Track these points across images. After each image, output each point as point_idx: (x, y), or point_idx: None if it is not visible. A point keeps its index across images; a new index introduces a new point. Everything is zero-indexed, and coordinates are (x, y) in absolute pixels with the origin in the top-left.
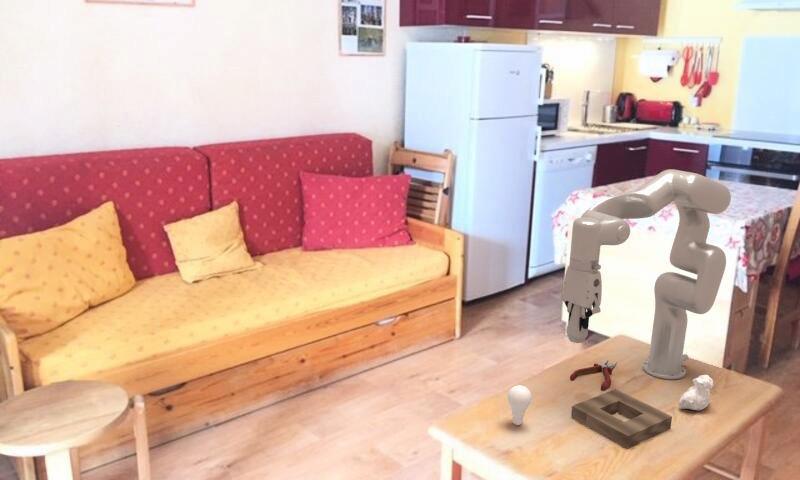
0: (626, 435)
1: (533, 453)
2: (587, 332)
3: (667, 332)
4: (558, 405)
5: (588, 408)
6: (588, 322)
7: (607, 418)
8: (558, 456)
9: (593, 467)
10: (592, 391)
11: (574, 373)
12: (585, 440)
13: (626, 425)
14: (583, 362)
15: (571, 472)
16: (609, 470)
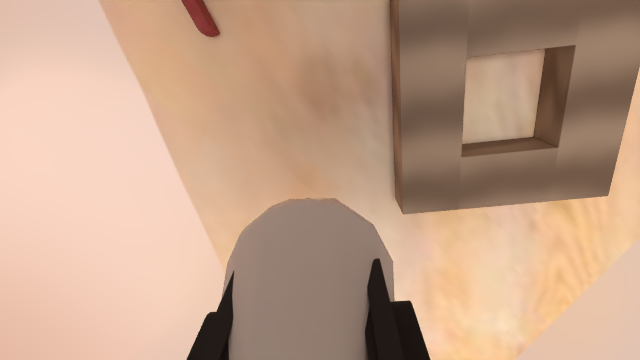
0: (599, 195)
1: (454, 344)
2: (381, 247)
3: None
4: (330, 184)
5: (440, 185)
6: (425, 347)
7: (512, 178)
8: (492, 316)
9: (563, 288)
10: (307, 23)
11: (200, 15)
12: (488, 237)
13: (574, 159)
14: None
15: (542, 328)
16: (593, 270)
